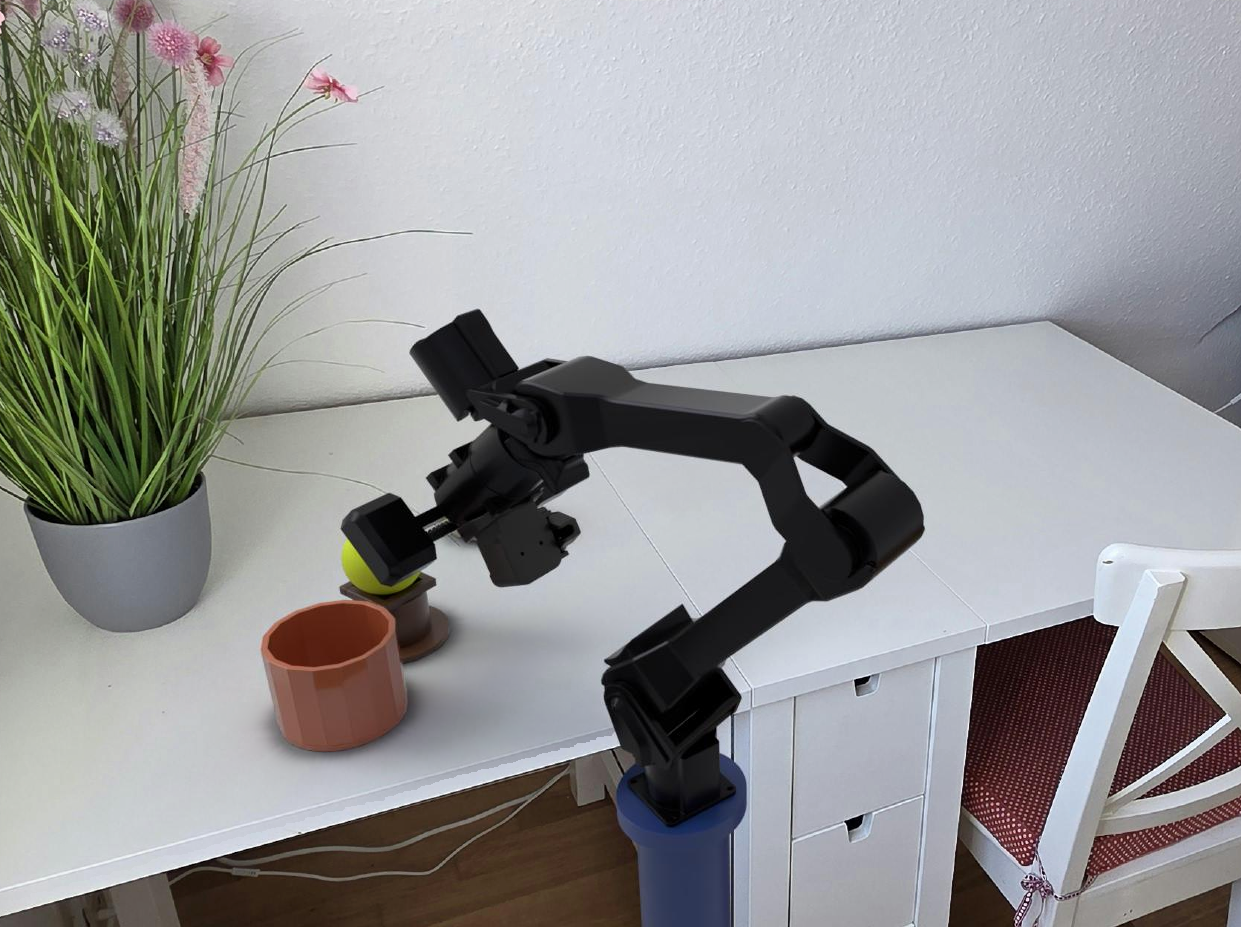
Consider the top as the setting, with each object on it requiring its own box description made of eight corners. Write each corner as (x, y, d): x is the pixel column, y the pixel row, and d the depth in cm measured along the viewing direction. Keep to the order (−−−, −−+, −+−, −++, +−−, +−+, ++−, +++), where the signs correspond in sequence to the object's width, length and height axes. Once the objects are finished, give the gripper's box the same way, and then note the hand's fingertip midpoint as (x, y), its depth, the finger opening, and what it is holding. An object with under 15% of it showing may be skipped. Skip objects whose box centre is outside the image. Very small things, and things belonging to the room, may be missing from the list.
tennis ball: (441, 592, 109) (432, 528, 105) (365, 618, 104) (353, 552, 101) (410, 560, 113) (400, 498, 109) (335, 584, 108) (323, 520, 105)
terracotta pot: (427, 719, 101) (414, 640, 98) (305, 768, 95) (286, 686, 91) (380, 663, 107) (367, 587, 103) (262, 707, 101) (243, 627, 97)
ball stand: (471, 628, 113) (464, 575, 110) (390, 678, 106) (380, 622, 103) (402, 597, 116) (394, 545, 113) (319, 643, 109) (308, 589, 106)
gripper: (472, 605, 87) (385, 676, 96) (648, 501, 102) (557, 571, 111) (379, 476, 86) (300, 560, 96) (569, 390, 101) (485, 470, 111)
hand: (421, 542), depth 103 cm, fingers open, 9 cm apart
